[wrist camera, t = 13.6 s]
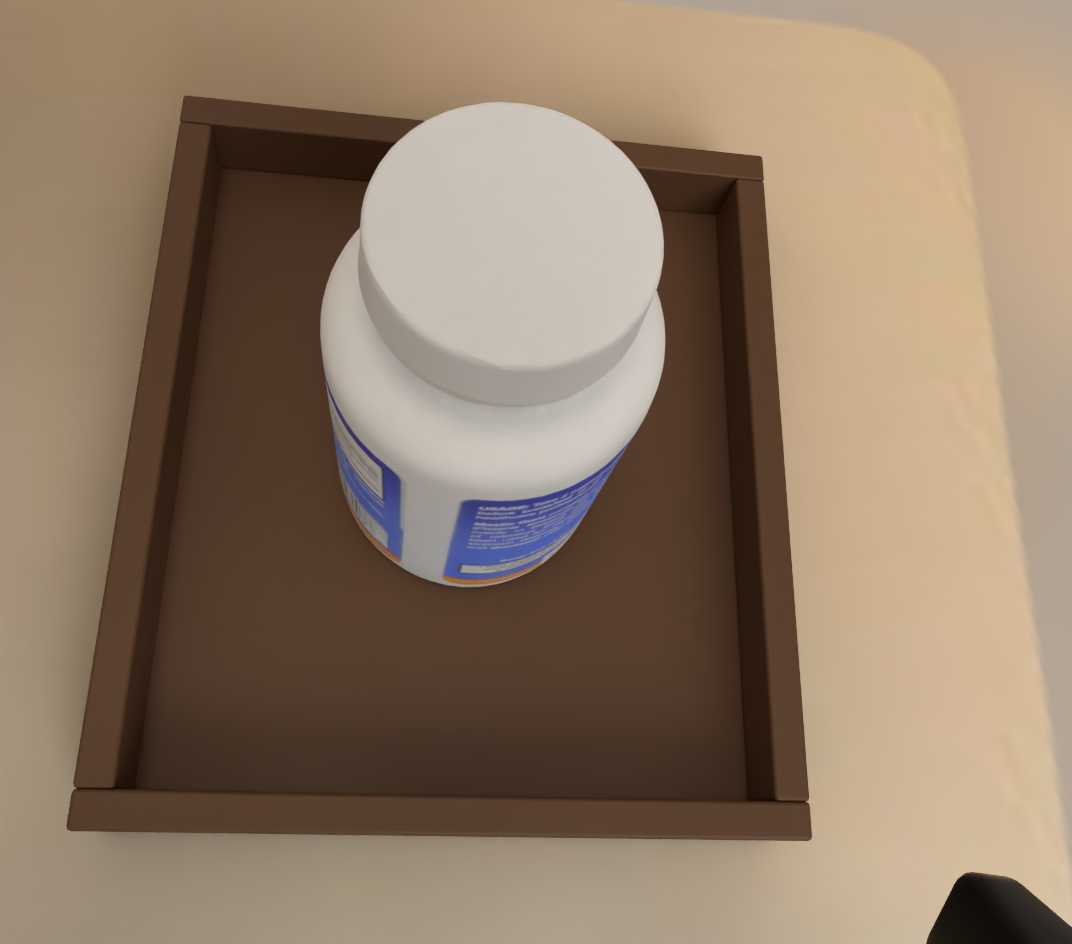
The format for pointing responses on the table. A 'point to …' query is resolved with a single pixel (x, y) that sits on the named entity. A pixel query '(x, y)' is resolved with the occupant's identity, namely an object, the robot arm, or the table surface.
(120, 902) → the table surface
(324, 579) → the tray
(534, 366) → the pill bottle
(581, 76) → the table surface
